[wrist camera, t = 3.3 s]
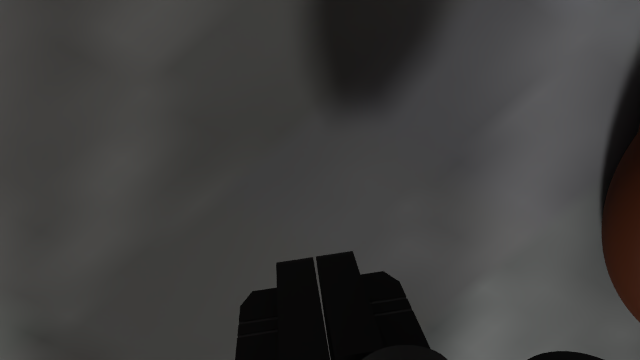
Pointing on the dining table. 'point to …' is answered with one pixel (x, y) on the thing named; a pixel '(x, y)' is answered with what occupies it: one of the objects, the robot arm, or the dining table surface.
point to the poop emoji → (624, 228)
